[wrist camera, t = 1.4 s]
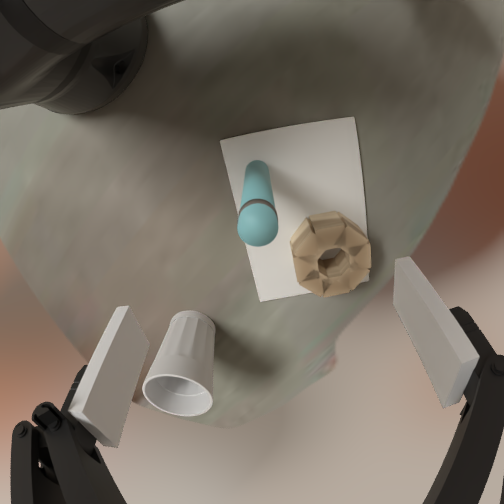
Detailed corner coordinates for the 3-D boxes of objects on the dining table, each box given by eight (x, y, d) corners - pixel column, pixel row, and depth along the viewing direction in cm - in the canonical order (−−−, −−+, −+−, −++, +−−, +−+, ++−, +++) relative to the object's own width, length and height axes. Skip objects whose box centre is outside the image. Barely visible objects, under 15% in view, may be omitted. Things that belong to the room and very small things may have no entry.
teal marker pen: (242, 162, 32) (232, 212, 18) (266, 157, 31) (274, 204, 18) (247, 185, 33) (241, 250, 19) (271, 180, 32) (282, 243, 19)
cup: (213, 302, 40) (201, 372, 29) (227, 346, 44) (220, 415, 33) (156, 308, 41) (131, 374, 30) (175, 350, 44) (157, 416, 34)
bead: (285, 219, 34) (289, 235, 31) (357, 206, 33) (369, 220, 30) (296, 282, 38) (300, 301, 34) (361, 269, 37) (371, 287, 34)
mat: (219, 140, 31) (219, 140, 30) (353, 116, 29) (354, 116, 29) (260, 299, 40) (260, 301, 39) (368, 279, 38) (369, 280, 38)
